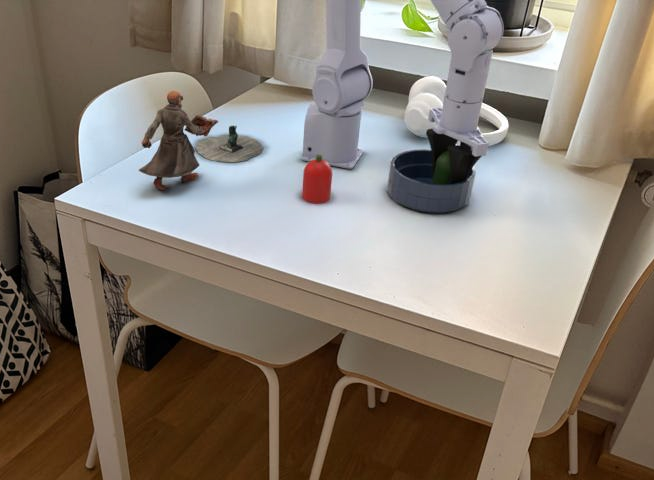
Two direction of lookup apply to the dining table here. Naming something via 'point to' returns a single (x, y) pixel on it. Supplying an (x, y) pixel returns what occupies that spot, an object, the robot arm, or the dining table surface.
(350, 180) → the dining table surface
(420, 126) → the headphones
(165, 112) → the figurine
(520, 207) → the dining table surface
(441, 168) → the green pepper
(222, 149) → the sculpture
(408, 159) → the shallow round dish
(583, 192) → the dining table surface
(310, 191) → the red pepper
